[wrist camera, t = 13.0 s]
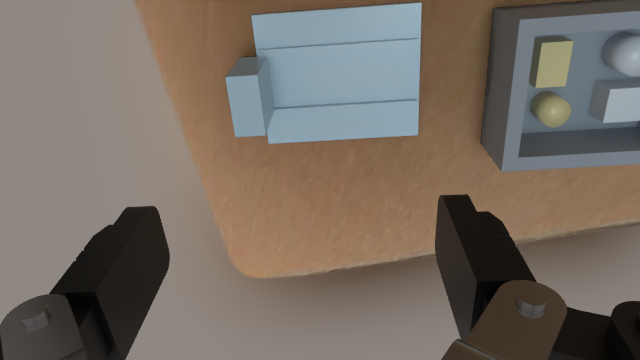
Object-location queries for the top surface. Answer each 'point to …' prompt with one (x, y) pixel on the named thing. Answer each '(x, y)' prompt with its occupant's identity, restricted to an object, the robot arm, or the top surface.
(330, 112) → the lid
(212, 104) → the top surface
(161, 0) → the top surface
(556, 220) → the top surface
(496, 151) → the grey shallow tray
